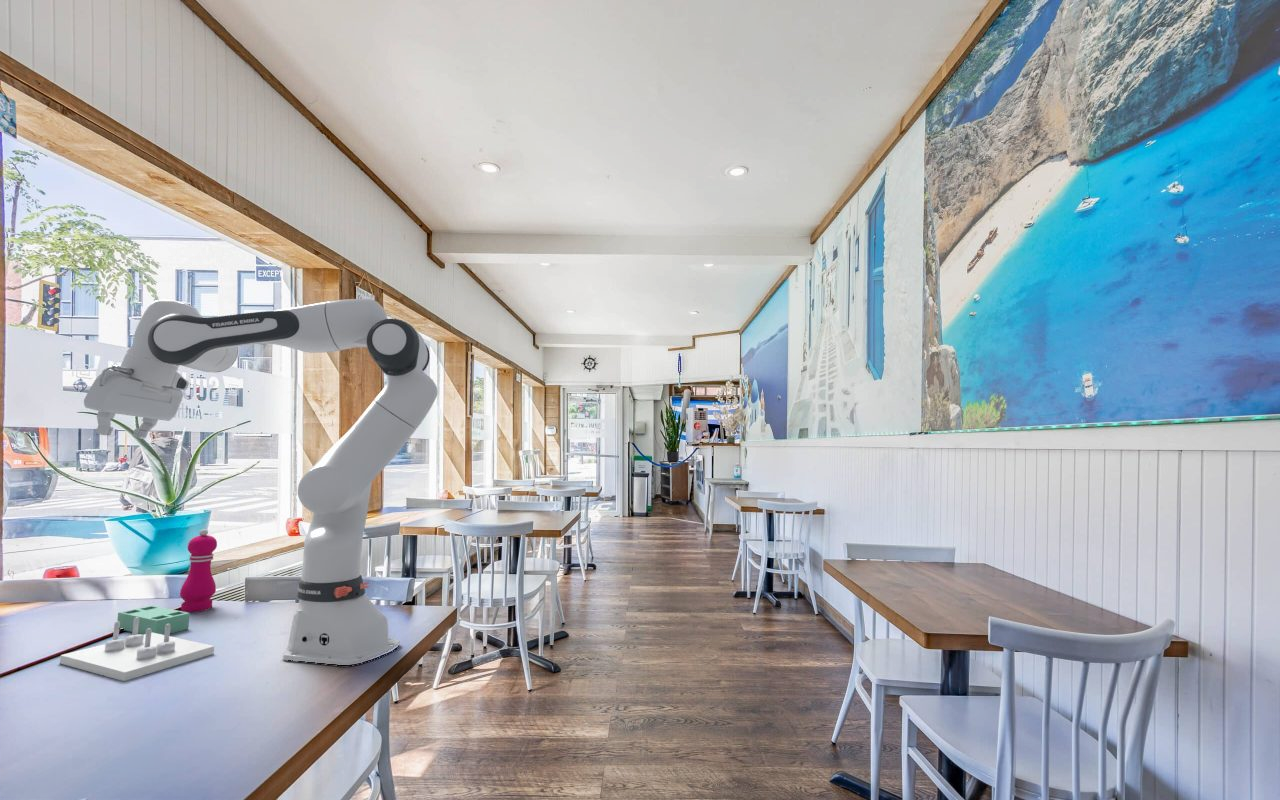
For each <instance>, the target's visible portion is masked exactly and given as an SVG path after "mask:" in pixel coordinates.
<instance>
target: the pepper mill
mask: <svg viewBox="0 0 1280 800" xmlns="http://www.w3.org/2000/svg"><path fill="white" fill-rule="evenodd" d="M217 546H218V541H217V539H216V538H215V536H212V535H209V530H208V529H206V528H203V529H201V530H200V531H199V535H197V536H194V537H193V538H191V539H190V540H189V542H188V544H187V551H188V552H189V554H190V555H189V556H188V558H189V559H188V562H190V567H189V572H188V575H187V576H186V578H185V581H184V583H182V586H181V588H180V591H179V592H180V593H179V596H180V598H181V599H182V600H183V601H184V602H181V604H180V605H181V606H180V611H182V612H187V613H197V612H202V611H207V610H211V608H212V607H213V599H211V598H212V597H213V596H214V595H215V594H216V591H217V586H216V582H215V580H214V577H213V574H212V571H211V569H212V568H211V564H212V560H214V553H213V552H215V550H216V549H217Z"/></svg>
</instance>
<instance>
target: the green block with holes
mask: <svg viewBox="0 0 1280 800" xmlns="http://www.w3.org/2000/svg"><path fill="white" fill-rule="evenodd" d="M190 614H191V612H182V611H181V610H176V609H171V608H167V607H161V606H157V605H147V606H143V607H142V606H141V607H138V608H133V609H130V610H124V611H120V612H119V611H118V612H117V621H119V622H120V628H123V629H124V630H123V631H125V632H126V631H127V632H130V633H133V623H134V618H135V617H139V625H138V634H143V635H144V634H146V630H147V629H148V628H151V629H152V632H153V633H157V634H162V635H164V634H165V625H166V624H170V625H171V626H170V634H173V633H177V632H182V631H185V630H189V627H190V616H191V615H190ZM117 621H116V622H117ZM152 632H151V633H152Z"/></svg>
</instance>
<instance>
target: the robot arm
mask: <svg viewBox="0 0 1280 800" xmlns="http://www.w3.org/2000/svg"><path fill="white" fill-rule="evenodd" d="M259 344H262V345H263V344H267V345H276V346H281V347H286V348H290V349H293V350H297V351H300V352H304V353H309V354H310V353H311V354H312V353H313V354H315V353H316V354H319V353H321V354H322V353H324V354H325V353H333V352H339V351H343V350H348V349H353V348H367V350H368V353H369V356H370V357H371V358H372V359H373V361H374V362H375V363H376V364H377V366H378V367H379V368H380V370H381V371H382V372H383V373H384V375H386V376H387V381H386V383H385V385H384V387H383V388H382V389H381V391H380V392H379V394H377V395H376V397H375V398H374V399H373V401H372V402H371V403H370V404H369V406H368V407H367V408H366V409H365V410H364V412H363V413H362V414H361V415H360V416H359V418H357V420H356V421H355V423H354V424H353V425H352V426H351V427H350V428H349V429H348V430H347V431H346V432H345V433H344V435H343V436H341V437H340V438H339V439H338V440H337V441H336V442H335V443H334V444H333V445H332V446H331V447H330V448H329V449H328V450H327V451H326V452H325V453H324V454H323V455H322V456H321V457H320V458H319V459H318V460H317V462H316V463H315V464H313V466H312V467H311V468H310V469H309V470H307V472H306V473H305V474H304V475H303V476H302V477H301V478H300V481H299V482H298V486H297V497H298V499H299V502H300V503H301V505H303V507H304V508H305V509H306V510H308V511H309V512H312V516H311V521H310V524H309V529H308V532H307V533H306V537H305V539H304V542H303V557H302V567H301V577H300V579H299V580H298V585H297V598H298V599H299V600H298V604H297V607H296V610H295V612H294V614H293V617H292V618H293V619H292V624H291V627H290V628H291V629H290V633H289V639H288V644H287V648H286V651H285V652H284V653H283V655H282V660H283V661H288V660H291V661H290V662H298V661H305V662H304V663H307V662H315V663H314V664H317V663H329V664H338V665H350V664H353V663H357V662H361V661H364V660H368V659H370V658H373V657H376V656H378V655H381V654H383V653H385V652H388V651H389V650H391V649H393V648H394V647H396V646H397V645H398V644H399V643H401V642H400V640H398V639H395V638H393V637H390V636H389V624H388V623H389V622H388V619H387V617H386V615H385V614H384V613H383V612H382V611H381V610H380V609H379V608H378V607H377V606H376V605H375V604H374V603H373V602H372V601H371V599H369V597H368V596H367V595H366V589H367V588H369V587H370V586H369V585H368V584H370V581H366V582H364V580H363V576H362V575H361V564H362V549H363V538H364V532H365V531H364V530H365V526H366V521H367V517H368V510H369V503H370V499H371V498H370V497H371V491H372V484H373V481H374V480H375V478H377V477H378V475H379V474H380V473H381V472H382V471H383V470H384V469H385V468H386V467H387V466H388V465H389V463H390V462H391V461H392V460H393V459H395V457H396V456H397V454H398V453H399V452H400V451H401V449H402V448H403V447H404V446H405V444H406V443H407V442H408V441H409V439H410V438H411V437H412V436H413V434H414V433H415V432H416V430H417V429H418V428H419V426H420V425H421V424H422V423H423V421H424V420H425V418H426V416H427V415H428V414H429V412H430V410H431V408H432V407H433V404H434V403H435V401H436V399H437V397H438V393H439V392H438V387H437V384H436V383H435V382H434V380H433V379H432V378H431V377H430V376H429V375H428V374H426V373H425V370H426V369H427V367H428V366H429V363H430V350H429V348H428V346H427V344H426V342H425V340H424V337H423V336H422V335H421V334H420V333H419V331H417V330H416V329H415V328H414V327H413V326H412V325H411V324H410V323H408V322H406V321H404V320H401V319H398V318H388V314H387V312H386V310H385V309H384V307H383V306H382V305H381V304H380V303H379V302H378V301H377V300H374V299H370V298H350V299H349V298H348V299H346V298H345V299H338V300H337V299H336V300H329V301H324V302H317V303H313V304H307V305H302V306H296V307H290V308H282V309H276V310H267V311H266V310H265V311H256V312H246V313H238V314H237V313H236V314H229V315H221V316H209V317H204V316H203V315H201V314H200V312H199V310H198V308H196V307H195V306H193V305H191V304H188V303H185V302H182V301H178V300H171V299H159V300H158V299H157V300H154V301H153V302H152V303H150V305H148V307H147V308H146V309H145V310H144V313H143V315H142V316H141V317H140V319H139V322H138V324H137V326H136V329H135V331H134V335H133V342H132V344H131V345H130V347H129V348H128V349H127V350H126V352H125V354H124V357H123V360H122V362H121V364H120V366H119V365H116V364H115V365H114V364H111V366H109V367H106V368H104V369H103V370H102V371H101V373H100V374H99V375H98V376H97V377H96V378H95V380H94V381H93V382H92V385H91V386H90V387H89V389H88V391H87V392H86V395H85V397H84V399H83V405H84V407H85V408H86V409H89V410H93V411H96V412H97V414H96V420H97V425H98V426H97V428H96V430H95V433H96V434H98V435H101V436H110V435H112V432H113V430H114V427H112V426H111V424H112V423H111V421H112V420H113V419H114V418H115V416H116V415H124V416H130V417H139V418H142V419H141V422H142V423H141V425H140V426H139V427H138V428H134V431H133V433H132V437H133V438H136V439H144V440H145V439H146V438H147V436H148V434H149V432H151V430H152V429H153V428H154V427H156V425H157V423H158V420H160V421H166V422H170V421H172V420H173V418H175V416H176V415H177V413H178V410H179V408H180V406H181V404H182V403H181V402H182V401H183V397H184V392H183V391H186V390H187V389H188V388H189V385H190V383H189V381H188V380H187V379H186V378H184V377H183V375H181V373H180V372H178V370H179V367H180V366H183V367H185V368H189V369H193V370H197V371H201V372H203V373H204V372H205V373H221V372H225V371H226V370H228V369H229V368H231V367H233V365H234V364H235V362H236V361H237V359H238V355H239V349H238V348H239V347H241V346H242V347H243V346H249V345H259ZM390 645H393V646H390ZM292 660H293V661H292Z"/></svg>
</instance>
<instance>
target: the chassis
mask: <svg viewBox="0 0 1280 800" xmlns="http://www.w3.org/2000/svg"><path fill="white" fill-rule="evenodd" d="M138 625H139V617H135V618H134V623H133V632H131V634H132V635H127V636H126V637H125V638H119V636H120V635H119V634H120V629H119V628H120V622H119V621H115V622H114V625H113V626H114V627H113V634H112V640H107V641H105V643H104V644H100V645H97V646H93V647H89V648H83V649H80V650H76V651H71V652H68V653H64V654H60V659H59V664H61V665H65V666H67V667H68V666H69V667H71V668H74V669H78V670H82V671H86V672H89V673H92V674H95V675H96V674H97V675H99V676H100V675H101V676H103V675H104V677H107V678H111V679H114V680H119V681H122V682H126V681H129V680H132V679H135V678H139V677H142V676H145V675H148V674H152V673H156V672H159V671H162V670H165V669H169V668H171V667H175V666H178V665H182V664H185V663H189V662H191V661H194V660H198V659H200V658H204V657H207V656H212V655H214V653H215V645H211V644H207V643H202V642H199V641H198V642H197V641H193V640H188V639H185V638H179V637H175V636H170V635H171V633H170V626H171V625H170V624H166V625H165V634H164V635H162V634H157V633H153V632H152V629H151V628H148V629H147V630H146V634H144V635H143V634H139V633H138ZM151 632H152V633H151Z"/></svg>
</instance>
